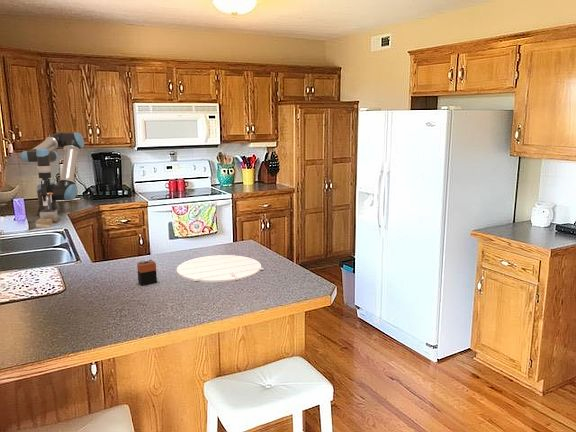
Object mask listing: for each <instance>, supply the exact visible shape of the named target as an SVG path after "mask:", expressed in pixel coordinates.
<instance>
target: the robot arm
mask: <svg viewBox="0 0 576 432" xmlns="http://www.w3.org/2000/svg"><path fill="white" fill-rule="evenodd" d="M83 148H85V140H84V137H83V134H81V132H76V131H75V132H62V131H61V132H56V133H54V134H51V135H49V136H48V137H46V138H45V139H44V141H43V142H40V143H39V144H38V145H37V146H35V147H33V148H32V149H30V150H24V151H22V152H21V154H20V156H21V160H22V162H25V163H37V167H36V169H37V171H38V178H39V179H41V181H40V183H39V184H37V186H36V192H37V193H36V194H37V202H38V204H37V205H38V206H37V208H36V209H37V210H36V216H38V217H40V212H41V211H42V210H45V206H48V201H47V196H46V194H47V193H51V192H52V193H53V195H50V198H51V208H52V210H57V214H58V215H60V213H61V212H60V208H59V207H58V204H57V201H73V200H75V199H76V198H77V195H78V185H76V182H75V181H74V179H75V172H76V166H77V159H78V154H79V153H80V152H81V149H83ZM56 149H63V150H64V157H63V163H62V169H61V176H60V179H58V181H57V184H56V183H55V182H54V181H52V182H51V178H52V172H51V171H52V168H51V163H54V162H57V161H58V160H59V154H58V152H57V151H55V150H56Z"/></svg>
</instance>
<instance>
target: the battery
mask: <svg viewBox="0 0 576 432" xmlns="http://www.w3.org/2000/svg"><path fill="white" fill-rule="evenodd" d="M136 266H137V280H138V281H137V282H138V284H139V285H140V286H142V287H143V286H148V285H152V284H156V283H158V279H157V278H158V276H157V275H158V273H157V263H156V261H154V260H153V259H148V260H147V261H146V260H139V262H137V265H136Z"/></svg>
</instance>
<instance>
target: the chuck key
mask: <svg viewBox="0 0 576 432" xmlns="http://www.w3.org/2000/svg"><path fill="white" fill-rule="evenodd" d="M50 195H53V193H52V192H51V193H47V194H46V196H47V201H48V206H45V211H46V212H48V211H52V208H51V198H50Z"/></svg>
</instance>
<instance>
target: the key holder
mask: <svg viewBox="0 0 576 432" xmlns="http://www.w3.org/2000/svg"><path fill="white" fill-rule="evenodd" d="M52 224H53V223H52V219H40V218H38V219H37V220H36V221H35V228H36V229H37V228H50V227H51V226H53V225H52Z"/></svg>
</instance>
